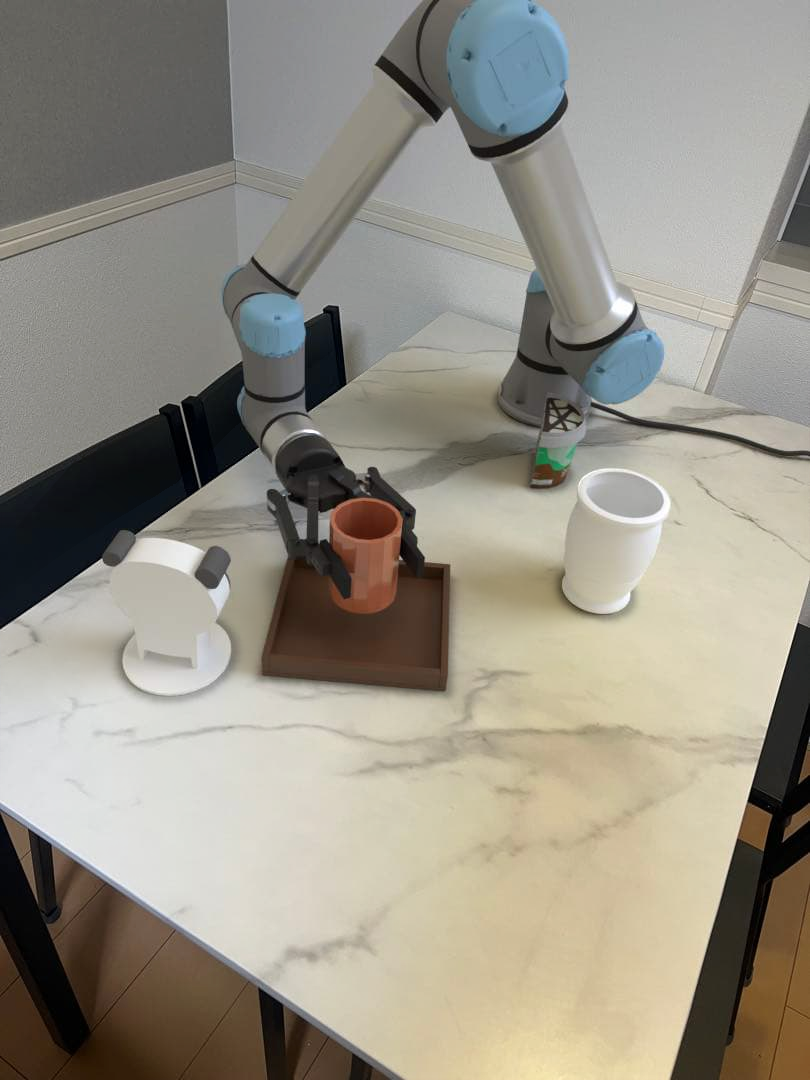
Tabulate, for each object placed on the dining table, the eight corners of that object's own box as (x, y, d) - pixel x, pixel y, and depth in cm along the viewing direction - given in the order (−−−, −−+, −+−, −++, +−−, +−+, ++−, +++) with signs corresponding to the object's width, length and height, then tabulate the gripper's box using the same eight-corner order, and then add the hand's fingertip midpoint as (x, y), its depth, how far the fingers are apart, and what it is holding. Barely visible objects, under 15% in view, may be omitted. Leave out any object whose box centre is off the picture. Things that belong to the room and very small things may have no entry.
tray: (448, 579, 98) (450, 563, 97) (445, 691, 85) (448, 675, 83) (290, 565, 99) (289, 549, 97) (262, 675, 85) (260, 658, 83)
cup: (398, 571, 91) (404, 501, 85) (393, 616, 85) (400, 545, 79) (333, 565, 91) (335, 494, 85) (325, 610, 85) (325, 538, 79)
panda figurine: (250, 627, 90) (242, 523, 81) (215, 705, 82) (201, 600, 72) (149, 609, 91) (129, 505, 82) (104, 685, 83) (75, 578, 73)
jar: (586, 552, 104) (612, 456, 95) (654, 594, 99) (689, 497, 89) (535, 588, 98) (558, 490, 89) (605, 635, 93) (638, 536, 83)
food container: (572, 501, 113) (587, 441, 106) (529, 493, 113) (541, 433, 107) (576, 454, 122) (590, 396, 116) (536, 447, 123) (547, 390, 116)
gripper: (378, 467, 103) (466, 579, 88) (222, 503, 95) (290, 632, 80) (381, 417, 98) (475, 526, 83) (217, 450, 90) (289, 576, 75)
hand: (384, 578), depth 81 cm, fingers closed on cup, 7 cm apart
